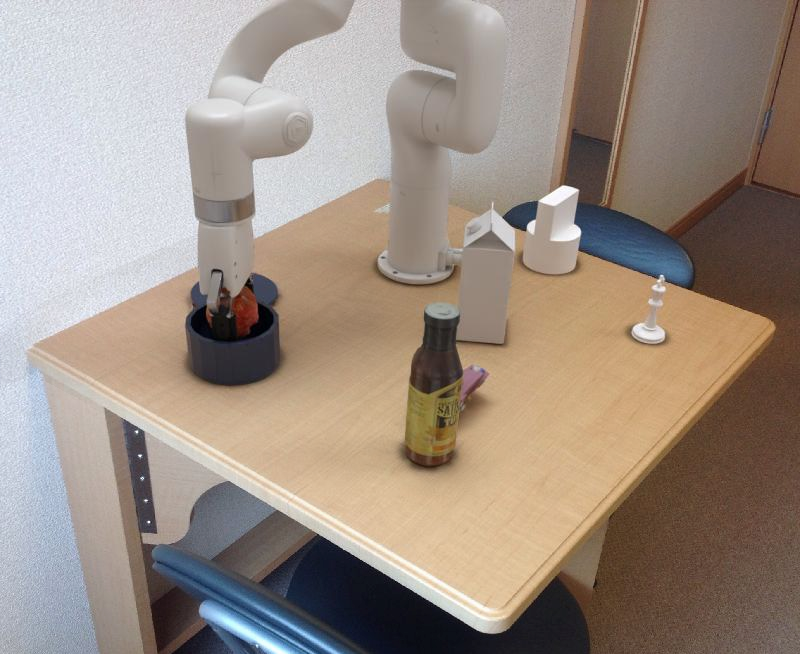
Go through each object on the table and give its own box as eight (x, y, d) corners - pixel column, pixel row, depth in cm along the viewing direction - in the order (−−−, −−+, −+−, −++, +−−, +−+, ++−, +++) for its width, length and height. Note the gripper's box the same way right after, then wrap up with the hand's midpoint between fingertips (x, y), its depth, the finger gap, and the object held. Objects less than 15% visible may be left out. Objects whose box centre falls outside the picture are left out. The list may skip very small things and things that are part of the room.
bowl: (279, 335, 134) (278, 295, 130) (281, 384, 123) (279, 343, 120) (192, 337, 132) (188, 297, 128) (186, 387, 122) (182, 345, 118)
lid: (277, 276, 148) (275, 236, 144) (278, 318, 137) (276, 276, 133) (193, 278, 146) (189, 237, 142) (188, 320, 136) (183, 277, 132)
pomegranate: (236, 328, 131) (180, 307, 123) (265, 287, 129) (209, 263, 121) (258, 358, 126) (201, 338, 119) (288, 316, 124) (232, 293, 117)
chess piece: (670, 335, 138) (685, 276, 132) (654, 347, 135) (668, 287, 129) (642, 323, 141) (655, 264, 135) (625, 334, 138) (637, 275, 132)
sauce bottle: (440, 475, 109) (452, 332, 98) (394, 457, 112) (401, 316, 100) (464, 446, 114) (479, 307, 103) (420, 429, 117) (429, 291, 105)
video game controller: (439, 436, 118) (464, 405, 113) (412, 413, 118) (437, 381, 114) (475, 400, 125) (501, 369, 120) (450, 378, 125) (474, 346, 120)
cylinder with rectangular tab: (538, 245, 161) (547, 180, 154) (584, 260, 157) (596, 194, 150) (512, 263, 155) (521, 196, 148) (560, 279, 151) (571, 211, 144)
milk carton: (503, 320, 140) (518, 203, 128) (503, 345, 134) (518, 224, 123) (457, 316, 140) (467, 199, 129) (454, 341, 134) (465, 220, 123)
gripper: (216, 173, 122) (226, 290, 132) (171, 230, 108) (187, 356, 118) (271, 178, 121) (277, 296, 131) (233, 236, 107) (243, 362, 117)
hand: (234, 323), depth 125 cm, fingers closed on pomegranate, 7 cm apart
